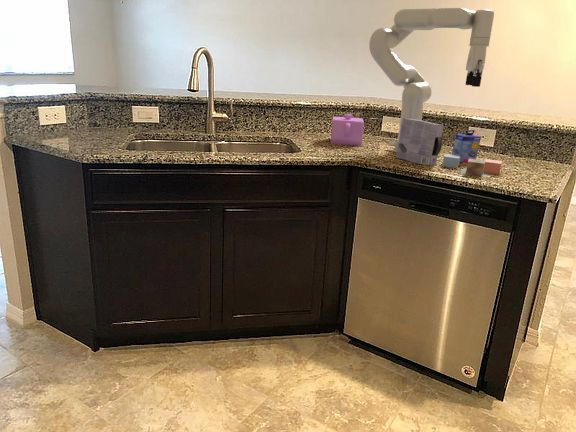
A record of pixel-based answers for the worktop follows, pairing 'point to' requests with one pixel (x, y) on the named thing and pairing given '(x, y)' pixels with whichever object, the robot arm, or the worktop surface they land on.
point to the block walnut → (475, 167)
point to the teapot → (347, 130)
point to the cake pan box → (419, 141)
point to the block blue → (451, 160)
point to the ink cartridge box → (466, 146)
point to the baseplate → (475, 175)
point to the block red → (492, 166)
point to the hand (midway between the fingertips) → (472, 85)
